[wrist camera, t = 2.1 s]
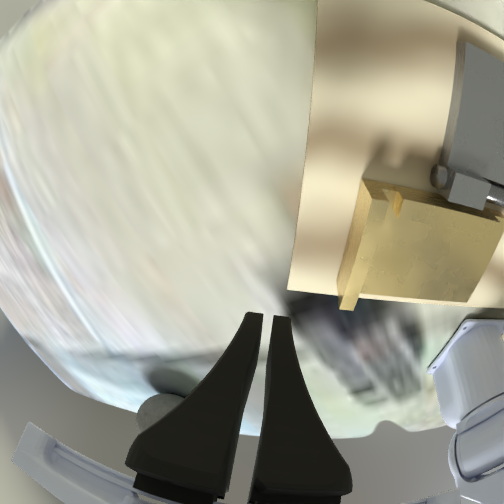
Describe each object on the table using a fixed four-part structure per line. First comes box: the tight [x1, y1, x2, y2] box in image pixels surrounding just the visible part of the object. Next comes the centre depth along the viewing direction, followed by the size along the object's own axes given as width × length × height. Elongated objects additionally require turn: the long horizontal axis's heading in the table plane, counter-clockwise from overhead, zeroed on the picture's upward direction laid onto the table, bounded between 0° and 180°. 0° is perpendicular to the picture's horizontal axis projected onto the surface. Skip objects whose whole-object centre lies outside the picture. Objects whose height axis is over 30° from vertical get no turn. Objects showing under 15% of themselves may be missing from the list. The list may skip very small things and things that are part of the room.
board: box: [287, 0, 504, 308], centre depth 14 cm, size 22×26×1 cm
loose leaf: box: [336, 178, 504, 311], centre depth 16 cm, size 8×12×3 cm
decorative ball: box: [136, 393, 184, 434], centre depth 36 cm, size 10×10×10 cm
